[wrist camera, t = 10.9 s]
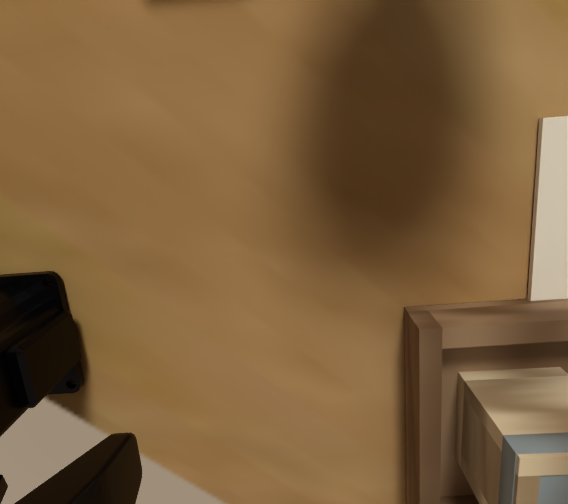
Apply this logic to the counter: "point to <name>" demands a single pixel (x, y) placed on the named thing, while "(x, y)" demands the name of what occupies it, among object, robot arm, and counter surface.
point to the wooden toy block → (514, 435)
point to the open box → (462, 358)
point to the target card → (550, 213)
